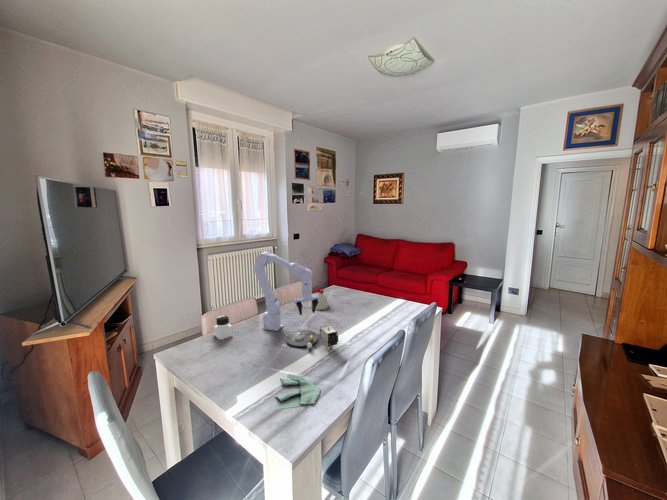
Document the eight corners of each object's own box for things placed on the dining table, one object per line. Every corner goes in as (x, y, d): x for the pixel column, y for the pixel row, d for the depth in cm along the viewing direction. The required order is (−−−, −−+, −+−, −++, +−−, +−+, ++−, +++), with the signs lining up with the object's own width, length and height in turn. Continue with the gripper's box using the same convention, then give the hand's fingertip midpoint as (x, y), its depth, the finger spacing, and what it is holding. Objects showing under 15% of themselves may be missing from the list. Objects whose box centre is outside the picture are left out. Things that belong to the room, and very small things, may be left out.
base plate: (276, 345, 141) (276, 344, 141) (294, 330, 158) (294, 329, 158) (310, 352, 134) (310, 351, 134) (325, 335, 152) (325, 334, 152)
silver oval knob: (306, 350, 135) (306, 342, 135) (307, 348, 137) (307, 341, 136) (311, 351, 134) (311, 343, 134) (313, 349, 136) (313, 341, 135)
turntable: (292, 349, 135) (292, 341, 134) (281, 336, 150) (280, 328, 149) (324, 341, 143) (323, 334, 143) (310, 329, 158) (310, 322, 157)
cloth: (321, 407, 98) (321, 401, 97) (258, 410, 96) (257, 404, 96) (320, 373, 118) (320, 368, 118) (267, 375, 116) (267, 370, 116)
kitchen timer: (327, 312, 188) (327, 290, 186) (307, 312, 188) (307, 290, 186) (328, 305, 202) (328, 285, 199) (309, 305, 202) (309, 285, 200)
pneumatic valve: (329, 357, 130) (329, 333, 128) (319, 346, 140) (319, 323, 138) (340, 354, 132) (340, 330, 131) (329, 344, 143) (329, 321, 141)
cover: (298, 342, 139) (298, 336, 139) (292, 339, 143) (292, 332, 143) (306, 339, 143) (306, 333, 142) (300, 336, 146) (300, 330, 146)
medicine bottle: (233, 338, 149) (232, 316, 148) (220, 342, 144) (218, 320, 142) (226, 334, 154) (225, 313, 152) (214, 338, 149) (212, 317, 147)
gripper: (296, 293, 150) (297, 317, 151) (321, 290, 156) (321, 313, 158) (292, 290, 156) (293, 313, 158) (316, 287, 162) (317, 309, 164)
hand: (307, 313), depth 158 cm, fingers open, 7 cm apart
